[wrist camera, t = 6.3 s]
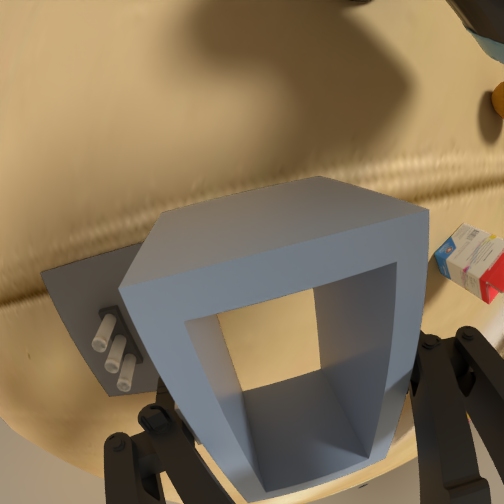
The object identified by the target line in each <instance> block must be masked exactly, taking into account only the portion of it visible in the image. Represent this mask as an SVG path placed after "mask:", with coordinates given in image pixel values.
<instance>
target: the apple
mask: <svg viewBox="0 0 504 504" xmlns="http://www.w3.org/2000/svg"><path fill="white" fill-rule="evenodd" d="M492 104H493V106H494V109H495V111H496V112H497V113H498V114H499V115H500V116H501V117H502V118H503V119H504V82H502V83H500V84H499V85H498V86H497V87H496V88H495V90H494V91H493V93H492Z"/></svg>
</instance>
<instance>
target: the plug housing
mask: <svg viewBox="0 0 504 504" xmlns="http://www.w3.org/2000/svg"><path fill="white" fill-rule="evenodd" d="M428 250H429V209H426V208H423V207H421V206H418V205H415V204H412V203H409V202H406V201H403V200H400V199H397V198H394V197H391V196H388V195H385V194H381V193H378V192H375V191H372V190H368V189H365V188H362V187H358V186H355V185H351V184H348V183H344V182H341V181H337V180H333V179H330V178H326V177H322V176H317V177H312V178H306V179H301V180H296V181H291V182H286V183H282V184H277V185H272V186H268V187H263V188H258V189H254V190H250V191H245V192H241V193H237V194H232V195H228V196H224V197H220V198H216V199H212V200H208V201H204V202H200V203H196V204H192V205H188V206H184V207H181V208H177V209H173V210H170V211H166V212H162V213H161V214H160V216H159V218H158V219H157V221H156V223H155V224H154V226H153V227H152V229H151V231H150V233H149V234H148V236H147V238H146V239H145V241H144V243H143V244H142V246H141V248H140V250H139V251H138V253H137V255H136V257H135V259H134V260H133V262H132V264H131V266H130V268H129V269H128V271H127V273H126V275H125V277H124V279H123V281H122V282H121V284H120V286H119V288H118V289H119V292H120V294H121V296H122V299H123V301H124V303H125V306H126V308H127V310H128V312H129V315H130V317H131V319H132V321H133V323H134V325H135V328H136V330H137V332H138V334H139V336H140V338H141V340H142V342H143V344H144V346H145V348H146V350H147V352H148V354H149V356H150V358H151V360H152V361H153V363H154V365H155V367H156V369H157V371H158V373H159V374H160V376H161V378H162V380H163V382H164V383H165V385H166V387H167V389H168V390H169V392H170V394H171V396H172V397H173V399H174V401H175V402H176V404H177V406H178V407H179V409H180V410H181V412H182V414H183V415H184V417H185V418H186V420H187V422H188V423H189V425H190V426H191V428H192V429H193V431H194V432H195V434H196V435H197V437H198V438H199V440H200V441H201V443H202V444H203V445H204V447H205V448H206V450H207V451H208V453H209V454H210V455H211V457H212V458H213V460H214V461H215V462H216V464H217V465H218V466H219V468H220V469H221V470H222V472H223V473H224V474H225V475H226V477H227V478H228V479H229V481H230V482H231V483H232V484H233V486H234V487H235V488H236V489H237V491H238V492H239V493H240V494H241V495H242V497H243V498H244V499H245V500H246V501H247V502H248V503H250V502H255V501H260V500H265V499H270V498H274V497H278V496H282V495H286V494H290V493H294V492H298V491H301V490H305V489H308V488H311V487H314V486H317V485H321V484H324V483H326V482H329V481H332V480H335V479H338V478H340V477H343V476H346V475H348V474H351V473H353V472H356V471H358V470H361V469H363V468H365V467H367V466H370V465H372V464H374V463H376V462H379V461H381V460H383V459H385V458H386V456H387V453H388V450H389V448H390V445H391V442H392V439H393V436H394V434H395V431H396V428H397V424H398V421H399V418H400V415H401V412H402V408H403V405H404V401H405V398H406V394H407V390H408V386H409V382H410V378H411V374H412V370H413V365H414V360H415V356H416V351H417V345H418V340H419V334H420V328H421V322H422V315H423V308H424V299H425V290H426V280H427V268H428ZM311 288H313V291H314V300H315V309H316V319H317V329H318V340H319V352H320V364H321V369H319V370H316V371H313V372H310V373H307V374H304V375H301V376H297V377H294V378H291V379H287V380H284V381H281V382H277V383H273V384H270V385H266V386H262V387H259V388H255V389H251V390H247V391H242V388H241V385H240V383H239V380H238V377H237V374H236V371H235V368H234V365H233V363H232V360H231V357H230V354H229V351H228V348H227V345H226V342H225V339H224V336H223V333H222V330H221V327H220V323H219V320H218V317H217V314H218V313H222V312H226V311H230V310H234V309H238V308H241V307H245V306H249V305H253V304H257V303H261V302H264V301H268V300H272V299H275V298H279V297H283V296H286V295H290V294H293V293H297V292H300V291H304V290H307V289H311Z"/></svg>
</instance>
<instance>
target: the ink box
mask: <svg viewBox="0 0 504 504" xmlns="http://www.w3.org/2000/svg"><path fill="white" fill-rule="evenodd" d="M435 257H436V260H437V263H438V266H439V269H440V272H441V274H442V275H444V276H446V277H447V278H449V279H450V280H452V281H454V282H455V283H457V284H458V285H460V286H461V287H463V288H465V289H466V290H468V291H469V292H471V293H472V294H474V295H475V296H477V297H478V298H480V299H481V300H483V301H484V302H486V303H487V304H490V303H491V302H492V300H493V299H494V298H495V296H496V295H497V294H498V293H499V292H500V293H504V239H502V238H499V237H497V236H495V235H492V234H490V233H488V232H486V231H483V230H481V229H478V228H476V227H473V226H471V225H468V224H466V223H463V224H462V225H461V226H460V227H459V228H458V229H457V230H456V232H455V233H454V234H453V235H452V236H451V237H450V238H449V239H448V240H447V241H446V242H445V243H444V244H443V245H442V246H441V247H440V248H439V249H438V250H437V251H436V252H435Z"/></svg>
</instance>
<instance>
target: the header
mask: <svg viewBox="0 0 504 504" xmlns="http://www.w3.org/2000/svg"><path fill="white" fill-rule="evenodd" d="M143 243H144V242H143ZM143 243H139V244H135V245H132V246H128V247H125V248H121V249H118V250H114V251H111V252H107V253H104V254H100V255H97V256H93V257H90V258H87V259H83V260H80V261H77V262H73V263H70V264H67V265H63V266H60V267H57V268H54V269H51V270H47V271H44V272H41V273H40V274H41V277H42V279H43V281H44V284H45V286H46V288H47V290H48V292H49V295H50V297H51V299H52V301H53V303H54V305H55V307H56V309H57V311H58V313H59V315H60V317H61V319H62V321H63V323H64V325H65V327H66V328H67V330H68V332H69V334H70V336H71V338H72V339H73V341H74V343H75V345H76V346H77V348H78V350H79V351H80V353H81V355H82V356H83V358H84V360H85V361H86V363H87V364H88V366H89V367H90V369H91V371H92V372H93V374H94V375H95V377H96V378H97V380H98V381H99V383H100V384H101V386H102V387H103V388H104V390H105V391H106V393H107V394H108V396H109V397H110V396H120V395H129V394H138V393H145V392H152V391H157V384H158V378H159V376H160V374H159V373H158V371H157V369H156V367H155V365H154V363H153V361H152V360H151V358H150V356H149V354H148V352H147V350H146V348H145V346H144V344H143V342H142V340H141V338H140V336H139V334H138V332H137V330H136V328H135V325H134V323H133V321H132V319H131V317H130V315H129V312H128V310H127V308H126V306H125V303H124V301H123V299H122V296H121V294H120V292H119V289H118V288H119V286H120V284H121V282H122V281H123V279H124V277H125V275H126V273H127V271H128V269H129V268H130V266H131V264H132V262H133V260H134V259H135V257H136V255H137V253H138V251H139V250H140V248H141V246H142V244H143Z"/></svg>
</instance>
